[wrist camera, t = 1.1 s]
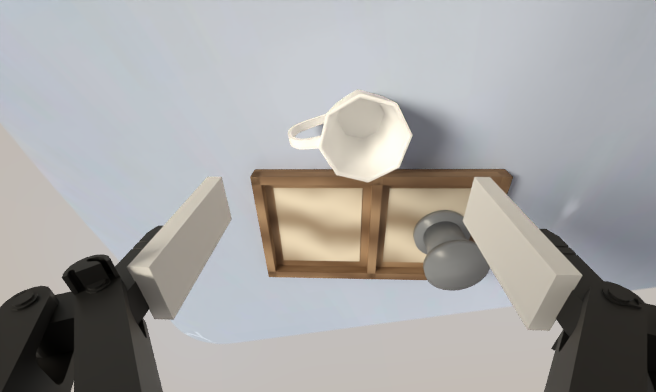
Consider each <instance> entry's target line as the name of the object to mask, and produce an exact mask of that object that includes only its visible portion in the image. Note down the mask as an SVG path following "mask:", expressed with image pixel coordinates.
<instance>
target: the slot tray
mask: <svg viewBox="0 0 656 392" xmlns="http://www.w3.org/2000/svg"><path fill="white" fill-rule="evenodd" d="M474 177H490V178H491V179H492V180H493V181H494V182H495V183H496V184H497V185H498V186H499V187H500V188H501V189H502V190H503V191H504V192H505V193H506V195H507V193H508V190H509V187H510V184H511V182H512V179H513V177H512V176H511V175H510V174H509V173H508V172H507V171H506V170H505V169H395V170H393V171H391V172H389V173H387V174H385V175H383V176H381V177H379V178H377V179H375V180H373V181H371V182H369V183H368V182H364V181H360V180H355V179H351V178H347V177H343V176H339V175H336V174H335V172H334V171H333V169H255V170H254V172H253V173H252V175H251V177H250V178H251V183H252V189H253V194H254V199H255V205H256V210H257V215H258V221H259V226H260V231H261V237H262V242H263V248H264V253H265V258H266V264H267V269H268V274H269V277H299V278H348V279H398V280H427V278H426V276H425V273H424V269H423V262H424V259H425V257H426V255H427V254H424V253H423V252H421V251H420V250H419V249H418V248H417V246H416V244H415V241H414V238H413V231H414V228H415V226H416V224H417V223H418V221H419V220H420V219H421V218H423V217H424V216H426V215H427V214H429V213H432V212H435V211H439V210H451V211H455V212H458V213H460V214H461V215H462V216H464V215H465V211H466V207H467V203H468V199H469V196H470V192H471V188H472V184H473V180H474ZM469 240H470V241H473V242H475V241H474V239H473V238H472V236H470V239H469Z"/></svg>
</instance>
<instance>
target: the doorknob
mask: <svg viewBox="0 0 656 392" xmlns="http://www.w3.org/2000/svg"><path fill="white" fill-rule="evenodd" d="M463 218H464V216H462V215H461V214H460V213H458V212H455V211H451V210H439V211H435V212H432V213H429V214H427V215H426V216H424V217H423V218H421V219H420V220H419V221H418V223H417V224H416V226H415V228H414V231H413V238H414V241H415V244H416V246H417V248H418V249H419V250H420V251H421V252H423V253H424V254H427V255H426V257H425V259H424V262H423V269H424V273H425V276H426V278H427V280H428V281H429V283H431V284H432V285H433V286H435V287H437V288H440V289H443V290H461V289H465V288H468V287H471V286H473V285H475V284H477V283H478V282H480V281H481V280H482V279H483V278H484V277H485V276H486V275H487V273H488V271H489V269H490V266H489V264H488V263H487V261H486V259H485V258H484V256H483V254H482V253H481V251H480V249H479V248H478V246H477V244H476V243H475V242H473V241H470V240H469V239H470V236H471V234H470V233H469V231H468V229H467V227H466V226H465V224H464V222H463Z"/></svg>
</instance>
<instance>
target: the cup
mask: <svg viewBox="0 0 656 392" xmlns="http://www.w3.org/2000/svg"><path fill="white" fill-rule="evenodd" d="M321 124H324V126H323V130H322V135H321V136H317V137H312V138H307V139H298V138H296V137H295V136H296V135H297V134H298V133H300V132H302V131H305V130H307V129H310V128H312V127H315V126H318V125H321ZM288 136H289V141H290V144H291V146H292V147H294V148H297V149H314V148H319V149H320V151H321V152H322V154H323V155H324V157H325V159H326V160H327V162H328V163H329V165H330V166H331V168H332V169H333V171H334V172H335V174H336V175H339V176H343V177H347V178H351V179H355V180H360V181H364V182H368V183H369V182H371V181H373V180H375V179H377V178H379V177H381V176H383V175H385V174H387V173H389V172H391V171H393V170H395V169H397V168H399V167H400V165H401V162H402V160H403V158H404V155H405V153H406V150H407V148H408V145H409V143H410V141H411V138H412V136H413V135H412V133H411V131H410V129H409V127H408V125H407V123H406V120H405V118H404V116H403V114H402V112H401V110H400V108H399V106H398V104H397V103H396V102H394V101H392V100H389V99H387V98H386V97H384V96H381V95H377V94H373V93H370V92H366V91H362V90H358V89H357V90H355V91H354V92H352V93H351V94H349V95H347V96H346V97H344V98H342V100H340V101H339V102H337V103H336V104H335V105H334V106H333V107H332V108H331V109H330V110H329V111H328V112H327V114H325V115H321V116H318V117H315V118H312V119H309V120H306V121H303V122H301V123H298V124H296V125H294V126H293V127H291V128H290V129H289V131H288Z"/></svg>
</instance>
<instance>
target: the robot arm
mask: <svg viewBox="0 0 656 392" xmlns="http://www.w3.org/2000/svg"><path fill="white" fill-rule="evenodd" d="M231 219H232V218H231V214H230V210H229V206H228V202H227V198H226V194H225V189H224V185H223V181H222V177H207V178H206V179H205V180H204V181H203V182H202V184H201V185H200V186H199V187H198V188H197V189H196V190H195V191H194V192H193V194H192V195H191V196H190V197H189V198H188V199H187V200H186V201H185V203H184V204H183V205H182V206H181V207H180V208H179V209H178V210H177V211H176V213H175V214H174V215H173V216H172V217H171V218H170V219H169V220H168V222H167V223H166V224H165V225H164V226H157V227H156V228H154V229H152V230H151V231H149V232H148V233H146V235H145V236H144V237H143V238H142V239H141V240H140V242H139V243H137V244H136V245H135V246H134V247H133V249H131V250H130V252H129V253H128V254H127V255H126V256H125V257H124V258H123V259H122V260H121V261H120V262H119V263H118V264H117V265H116V266H114V265H113V263H112V261H111V259H110V258H109V256H107V255H94V256H90V257H86V258H84V259H82V260H80V261H77V262H76V263H74V264H73V265H71V266H70V267H69V268H68V269H67V270H66V271H65V272H64V274H63V276H62V278H63V280H64V281H65V283H66V284H67V286H68V287H69V288H70V290H71V291H72V292H67V293H63V294H58V295H54V294H53V292H52V291H51V290H50V289H49V288H48V287H46V286H38V287H33V288H30V289H27V290H24V291H22V292H20V293H18V294H16V295H14V296H13V297H11V298H10V299H9V300H7V301H6V302H5V303H4V304H3V305H2V306H1V307H0V392H71V388H72V385H73V382H74V392H163V391H162V387H161V382H160V378H159V375H158V370H157V366H156V362H155V358H154V354H153V350H152V346H151V342H150V337H149V333H148V329H147V325H146V322H145V320H144V319H143V317H144V316H145V314H146V313H147V311H148V310H150V312H151V313H152V315H153V317H154V319H172V320H174V318H175V316H176V314H177V313H178V311H179V309H180V308H181V306H182V304H183V302H184V301H185V299H186V297H187V295H188V294H189V292H190V290H191V289H192V287H193V285H194V283H195V282H196V280H197V278H198V276H199V275H200V273H201V271H202V270H203V268H204V266H205V264H206V263H207V261H208V259H209V257H210V256H211V254H212V252H213V250H214V249H215V247H216V245H217V244H218V242H219V240H220V238H221V237H222V235H223V233H224V231H225V230H226V228H227V226H228V225H229V223H230V221H231ZM463 222H464V224H465V226H466V227H467V229H468V231H469V233H470V234H471V236H472V238H473V239H474V241H475V243H476V244H477V246H478V248H479V249H480V251H481V253H482V254H483V256H484V258H485V259H486V261H487V263H488V264H489V266H490V268H491V270H492V271H493V273H494V275H495V276H496V278H497V280H498V281H499V283H500V285H501V286H502V288H503V290H504V291H505V293H506V295H507V296H508V298H509V300H510V302H511V303H512V305H513V307H514V308H515V310H516V311H517V313H518V315H519V317H520V318H521V320H522V322H523V323H524V325H525V327H526V328H527V330H547V331H549V330H550V329H551V327H552V326H553V324H554V322H555V321H556V320H557V321H558V322H559V324H560V325H561V326H562V328H563V331H562V332H561V334H560V336H559V337H558V339H557V340H556V342H555V344H554V345H553V347H552V349H553V350H555V354H554V357H553V361H552V365H551V369H550V372H549V376H548V380H547V383H546V387H545V390H544V392H656V306H654V305H650V304H646V303H644V302H643V300H642V299H641V298H640V297H639V296H637V295H636V294H635V293H633V292H632V291H630V290H629V289H626V288H624V287H622V286H620V285H618V284H614V283H611V282H605V281H603V280H602V279H601V278H600V277H599V276H598V275H597V274H596V273H595V272H594V271H593V270H592V269H591V268H590V267H589V266H588V265H587V264H586V263H585V262H584V261H583V260H582V259H581V258H580V257H579V256H578V255H576V253H575V252H574V251H573V250H572V249H571V248H568V245H567V244H566V243H565V242H564V241H563V240H562V239H561V238H560V237H558V236H557V235H555V234H554V233H552V232H550V231H549V230H547V229H538V227H537V226H536V225H535V224H534V223H533V222H532V221H531V220H530V219H529V218H528V217H527V216H526V215H525V214H524V213H523V212H522V210H521V209H520V208H519V207H518V206H517V205H516V204H515V203H514V202H513V201H512V200H511V199H510V198H509V197H508V196H507V195H506V193H505V192H504V191H503V190H502V189H501V188H500V187H499V186H498V185H497V184H496V183H495V182H494V181H493V180H492V179H491V178H490V177H474V180H473V184H472V188H471V192H470V196H469V199H468V203H467V207H466V211H465V215H464V218H463Z"/></svg>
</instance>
